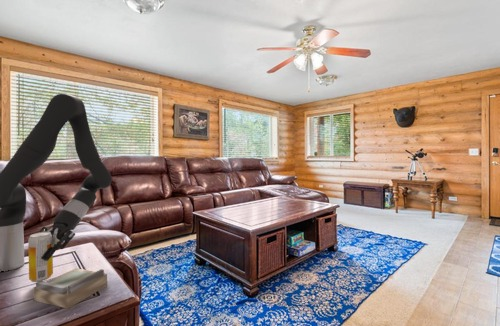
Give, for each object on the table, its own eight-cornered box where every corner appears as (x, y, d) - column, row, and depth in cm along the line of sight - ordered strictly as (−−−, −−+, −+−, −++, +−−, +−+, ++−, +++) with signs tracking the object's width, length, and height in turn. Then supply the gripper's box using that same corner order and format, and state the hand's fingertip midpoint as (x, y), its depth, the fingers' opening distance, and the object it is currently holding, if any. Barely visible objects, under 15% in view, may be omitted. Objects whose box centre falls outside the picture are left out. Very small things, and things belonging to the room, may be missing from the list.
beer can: (50, 272, 86) (49, 230, 85) (55, 277, 82) (54, 234, 82) (27, 278, 81) (26, 234, 81) (31, 285, 77) (30, 238, 77)
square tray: (33, 300, 73) (32, 281, 73) (76, 279, 86) (75, 263, 85) (67, 309, 69) (66, 289, 69) (107, 285, 82) (106, 268, 81)
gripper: (50, 207, 91) (12, 250, 80) (79, 210, 86) (43, 256, 75) (64, 218, 96) (31, 260, 85) (93, 221, 92) (61, 265, 81)
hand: (37, 258), depth 80 cm, fingers closed on beer can, 6 cm apart
